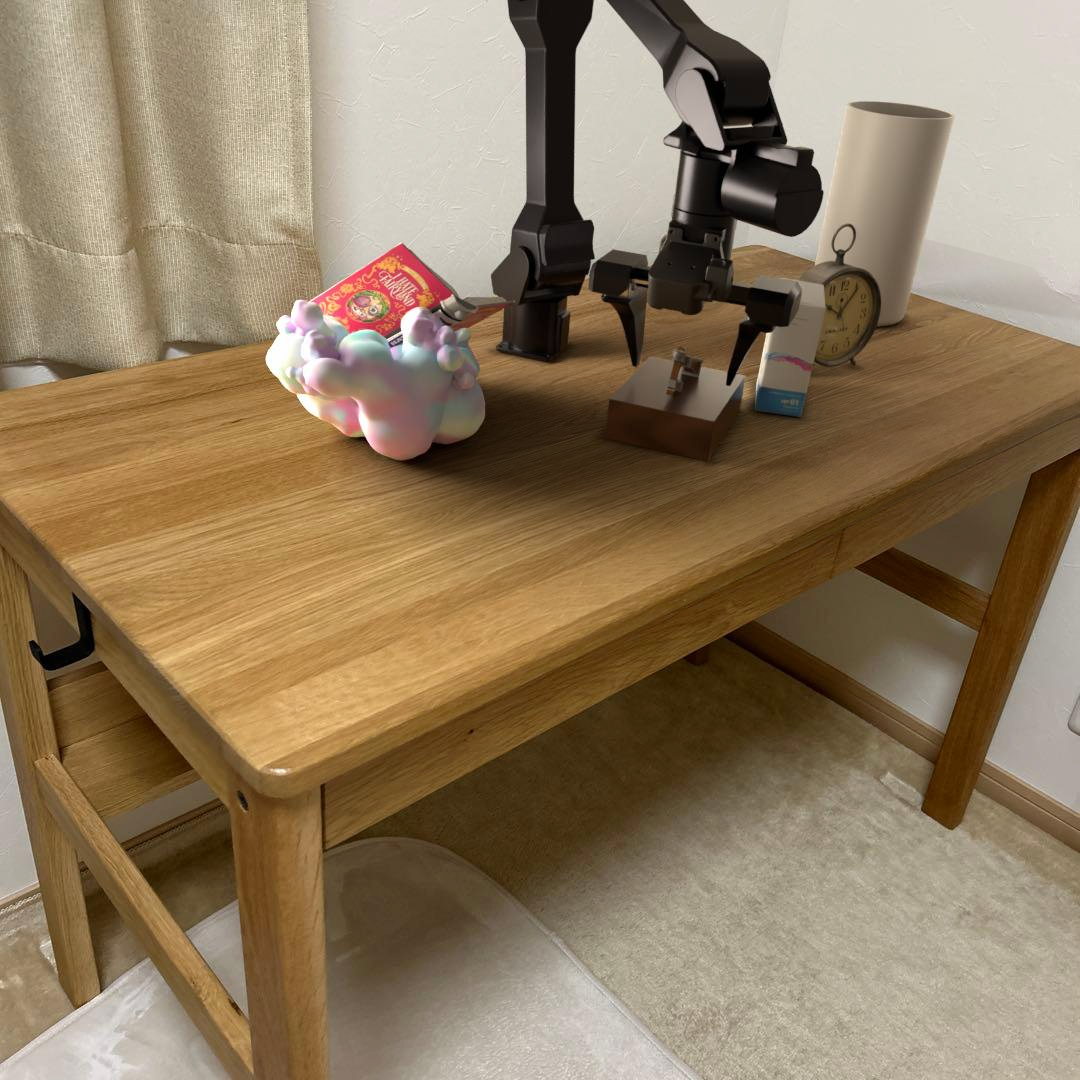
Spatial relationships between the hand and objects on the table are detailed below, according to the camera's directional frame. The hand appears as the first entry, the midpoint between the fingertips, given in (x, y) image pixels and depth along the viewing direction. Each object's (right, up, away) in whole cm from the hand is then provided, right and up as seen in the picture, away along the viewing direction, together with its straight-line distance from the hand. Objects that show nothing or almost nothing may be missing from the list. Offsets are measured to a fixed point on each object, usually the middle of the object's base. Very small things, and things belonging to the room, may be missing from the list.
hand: (681, 374), depth 102 cm
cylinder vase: (+28, +14, +38) cm, 50 cm away
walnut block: (0, -4, +3) cm, 5 cm away
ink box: (+12, -1, +10) cm, 15 cm away
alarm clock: (+18, +4, +19) cm, 27 cm away
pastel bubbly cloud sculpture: (-28, -5, -2) cm, 28 cm away
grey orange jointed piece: (0, -1, +1) cm, 1 cm away
